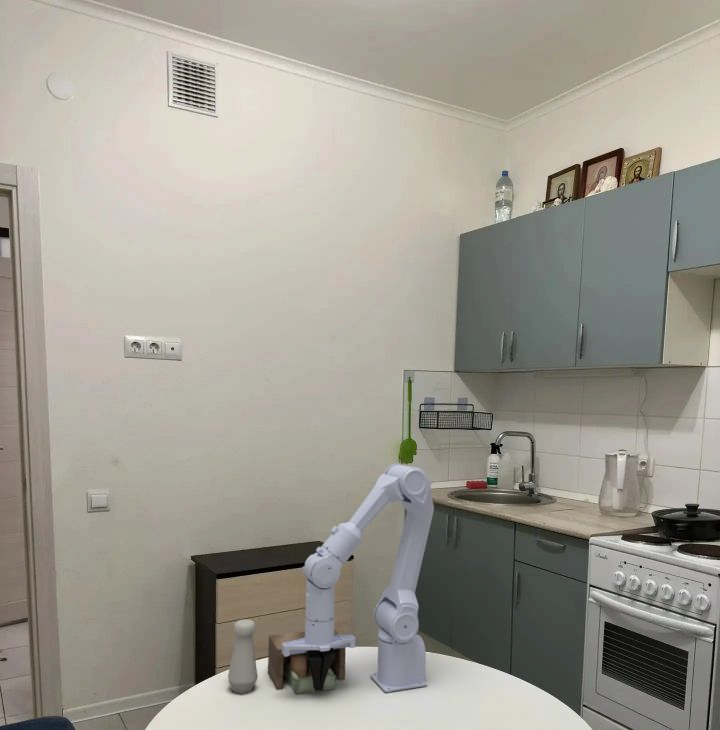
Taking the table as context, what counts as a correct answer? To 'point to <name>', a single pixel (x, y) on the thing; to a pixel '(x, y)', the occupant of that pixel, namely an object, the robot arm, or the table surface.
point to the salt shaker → (243, 658)
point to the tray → (307, 681)
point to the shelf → (278, 660)
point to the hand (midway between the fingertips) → (318, 688)
